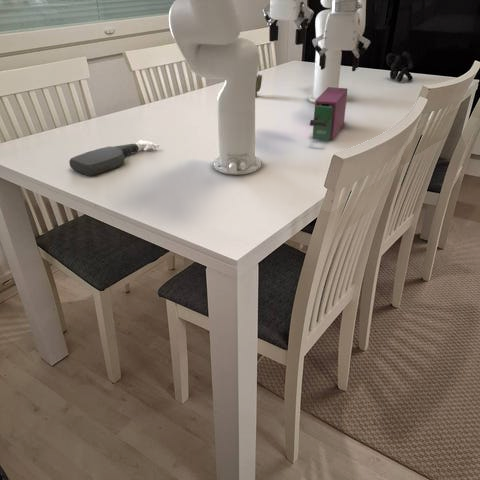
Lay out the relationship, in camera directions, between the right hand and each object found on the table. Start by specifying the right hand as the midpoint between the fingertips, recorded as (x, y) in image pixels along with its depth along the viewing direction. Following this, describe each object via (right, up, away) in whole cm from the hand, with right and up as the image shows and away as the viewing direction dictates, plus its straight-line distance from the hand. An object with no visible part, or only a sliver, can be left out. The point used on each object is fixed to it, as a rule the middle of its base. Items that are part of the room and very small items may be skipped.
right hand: (338, 69), depth 138 cm
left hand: (-17, +4, -10) cm, 20 cm away
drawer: (-4, -20, 0) cm, 20 cm away
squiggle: (+42, +19, +63) cm, 78 cm away
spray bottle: (-65, -30, -13) cm, 73 cm away
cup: (-25, +5, +43) cm, 50 cm away
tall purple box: (-2, -17, +5) cm, 18 cm away
